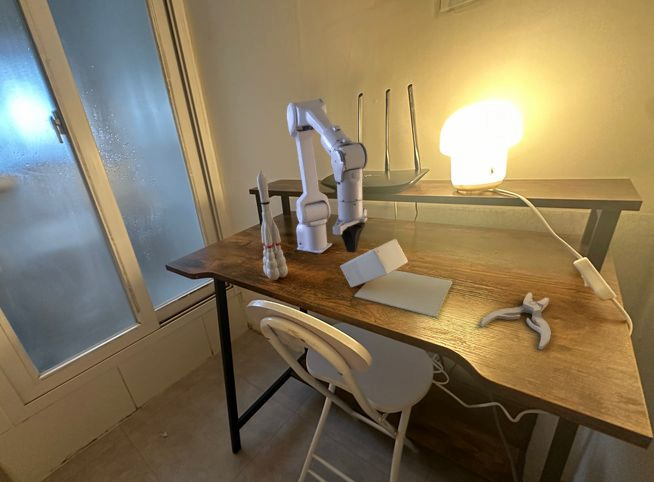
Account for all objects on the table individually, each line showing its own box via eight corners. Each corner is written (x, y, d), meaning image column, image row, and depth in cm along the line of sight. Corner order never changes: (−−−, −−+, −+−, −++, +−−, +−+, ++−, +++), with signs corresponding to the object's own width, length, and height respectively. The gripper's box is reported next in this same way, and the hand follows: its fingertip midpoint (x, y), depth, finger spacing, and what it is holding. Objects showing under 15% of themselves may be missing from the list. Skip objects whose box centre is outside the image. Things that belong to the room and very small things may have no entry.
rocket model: (292, 271, 89) (279, 166, 76) (284, 284, 83) (268, 172, 70) (269, 270, 91) (253, 168, 78) (260, 282, 85) (240, 174, 72)
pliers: (480, 318, 58) (510, 287, 65) (478, 325, 58) (509, 293, 66) (545, 342, 50) (571, 303, 58) (543, 350, 51) (568, 310, 59)
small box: (350, 288, 76) (387, 275, 65) (339, 266, 77) (373, 249, 66) (371, 276, 80) (409, 261, 69) (360, 255, 81) (395, 237, 70)
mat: (354, 296, 73) (354, 295, 73) (379, 268, 84) (379, 267, 83) (435, 317, 62) (435, 316, 62) (452, 281, 73) (452, 280, 73)
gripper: (352, 209, 64) (353, 265, 70) (378, 191, 74) (377, 242, 80) (323, 207, 68) (327, 260, 74) (351, 190, 78) (353, 239, 84)
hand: (351, 251), depth 77 cm, fingers closed
